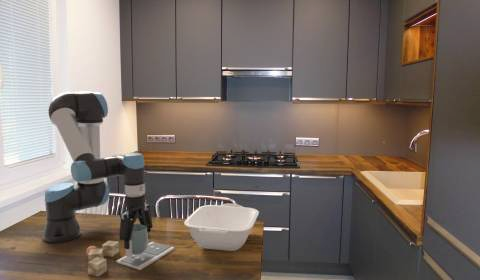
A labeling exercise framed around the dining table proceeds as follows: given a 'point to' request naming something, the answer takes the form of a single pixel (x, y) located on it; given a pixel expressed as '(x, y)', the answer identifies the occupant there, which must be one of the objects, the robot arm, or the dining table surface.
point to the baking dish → (221, 226)
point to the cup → (139, 238)
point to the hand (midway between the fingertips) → (137, 251)
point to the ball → (90, 249)
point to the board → (146, 256)
